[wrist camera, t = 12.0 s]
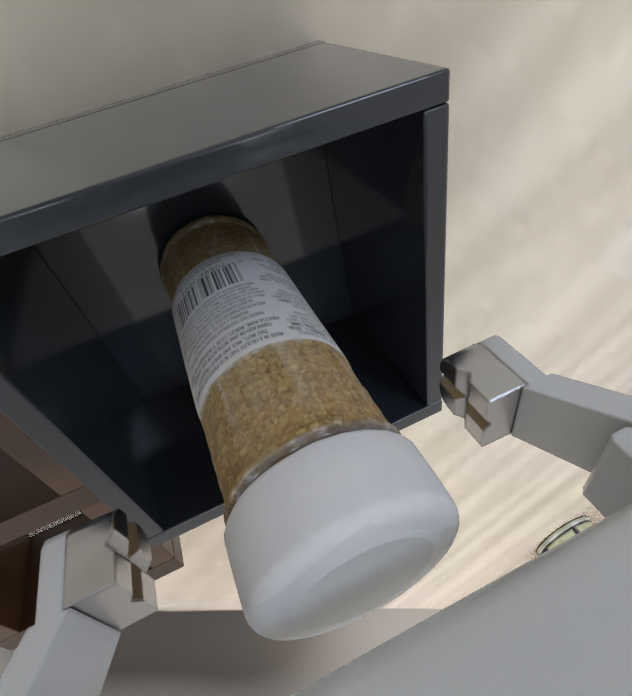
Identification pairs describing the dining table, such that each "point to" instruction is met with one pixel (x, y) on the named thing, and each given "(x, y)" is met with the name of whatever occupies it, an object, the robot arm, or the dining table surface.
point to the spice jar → (296, 444)
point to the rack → (35, 512)
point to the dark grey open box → (205, 200)
